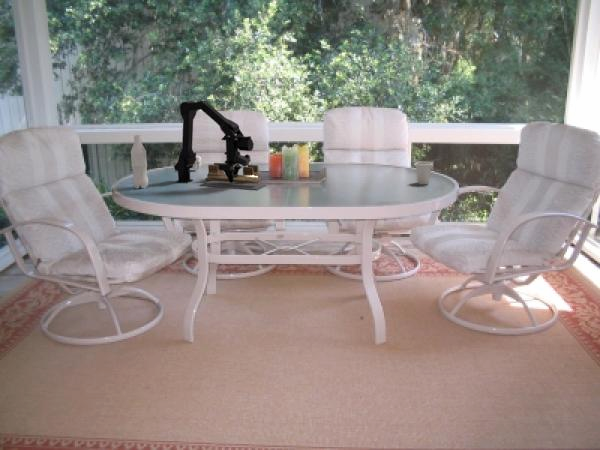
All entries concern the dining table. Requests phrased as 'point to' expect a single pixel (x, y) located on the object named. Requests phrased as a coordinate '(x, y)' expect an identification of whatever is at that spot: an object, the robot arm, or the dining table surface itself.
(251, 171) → the rail stand
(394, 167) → the dining table surface
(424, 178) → the dixie cup
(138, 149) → the water bottle
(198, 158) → the penguin figurine
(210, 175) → the bronze rail
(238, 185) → the rubber mat
